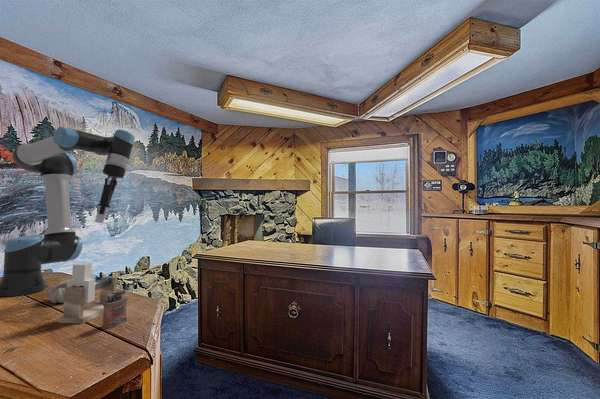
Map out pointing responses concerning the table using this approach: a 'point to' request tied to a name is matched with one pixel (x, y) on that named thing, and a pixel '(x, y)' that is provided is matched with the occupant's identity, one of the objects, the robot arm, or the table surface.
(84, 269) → the white pipe saddle block
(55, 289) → the fossil replica
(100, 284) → the pipe stand
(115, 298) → the lighter
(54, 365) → the table surface
